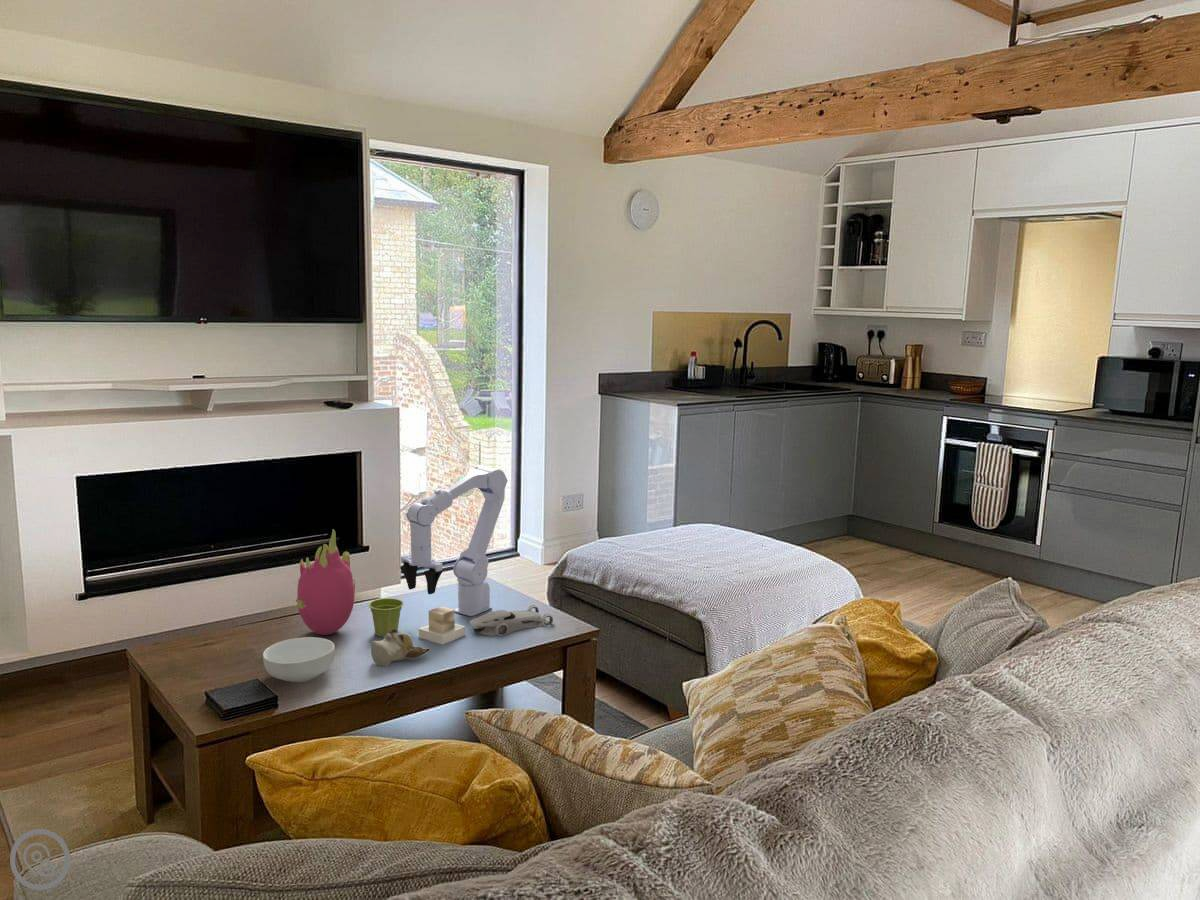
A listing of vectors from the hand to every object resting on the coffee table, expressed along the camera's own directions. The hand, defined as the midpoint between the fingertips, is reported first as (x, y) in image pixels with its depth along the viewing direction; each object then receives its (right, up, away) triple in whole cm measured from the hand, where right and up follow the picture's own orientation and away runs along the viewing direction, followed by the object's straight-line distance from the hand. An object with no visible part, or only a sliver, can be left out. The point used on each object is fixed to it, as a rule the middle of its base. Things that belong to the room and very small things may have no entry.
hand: (421, 591), depth 257 cm
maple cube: (+7, -9, -8) cm, 14 cm away
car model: (+25, -11, +2) cm, 28 cm away
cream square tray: (+7, -11, -8) cm, 16 cm away
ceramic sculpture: (-2, -14, -25) cm, 29 cm away
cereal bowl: (-23, -16, -36) cm, 45 cm away
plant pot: (-9, -11, -6) cm, 15 cm away
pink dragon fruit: (-25, -11, -7) cm, 28 cm away
